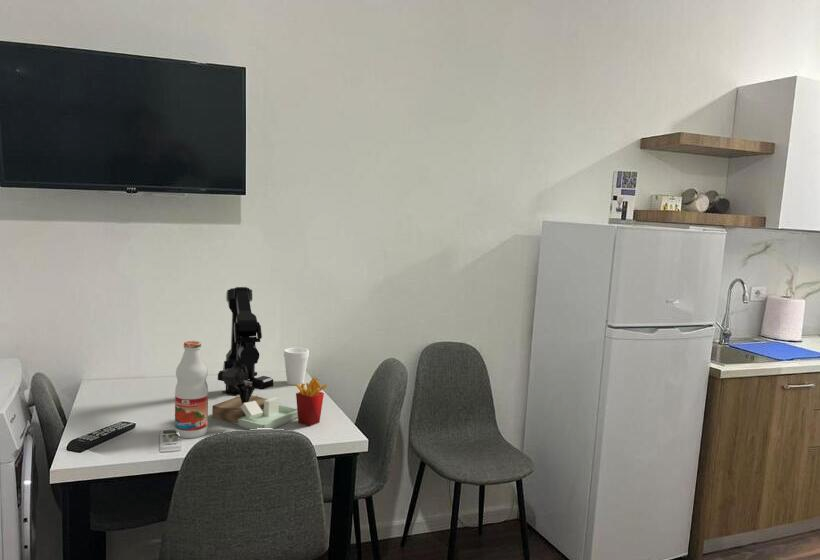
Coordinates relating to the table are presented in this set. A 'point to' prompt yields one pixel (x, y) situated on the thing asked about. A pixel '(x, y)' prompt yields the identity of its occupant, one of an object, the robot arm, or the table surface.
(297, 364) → the foam cup
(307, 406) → the french fries
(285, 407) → the tray
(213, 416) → the board
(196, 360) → the fruit juice
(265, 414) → the tile
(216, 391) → the table surface
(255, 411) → the tile
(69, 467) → the table surface
